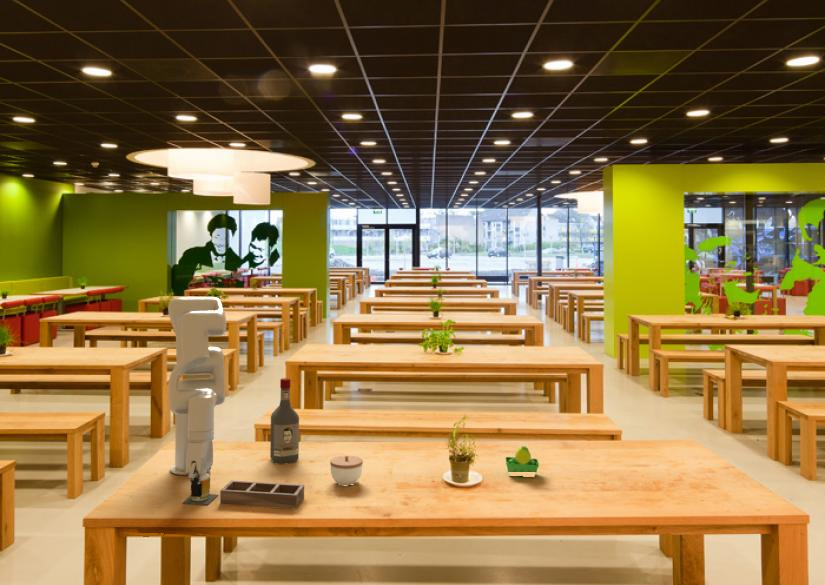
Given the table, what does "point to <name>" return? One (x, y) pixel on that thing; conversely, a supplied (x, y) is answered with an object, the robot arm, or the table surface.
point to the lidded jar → (346, 469)
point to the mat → (204, 502)
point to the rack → (262, 494)
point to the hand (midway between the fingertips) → (200, 492)
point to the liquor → (284, 429)
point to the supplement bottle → (203, 487)
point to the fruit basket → (522, 461)
